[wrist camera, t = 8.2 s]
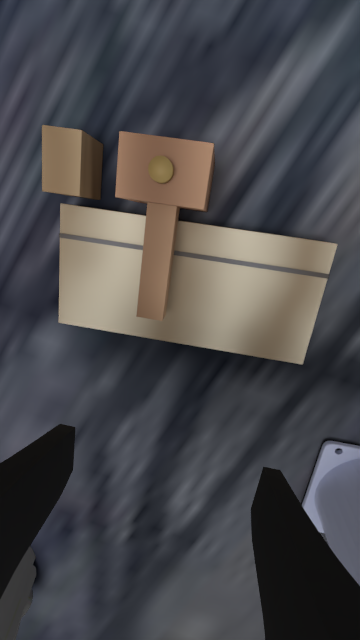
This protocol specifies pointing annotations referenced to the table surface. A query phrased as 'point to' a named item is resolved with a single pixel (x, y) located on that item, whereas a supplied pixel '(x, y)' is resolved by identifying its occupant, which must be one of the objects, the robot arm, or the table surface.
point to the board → (194, 284)
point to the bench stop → (71, 162)
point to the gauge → (162, 202)
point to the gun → (17, 597)
